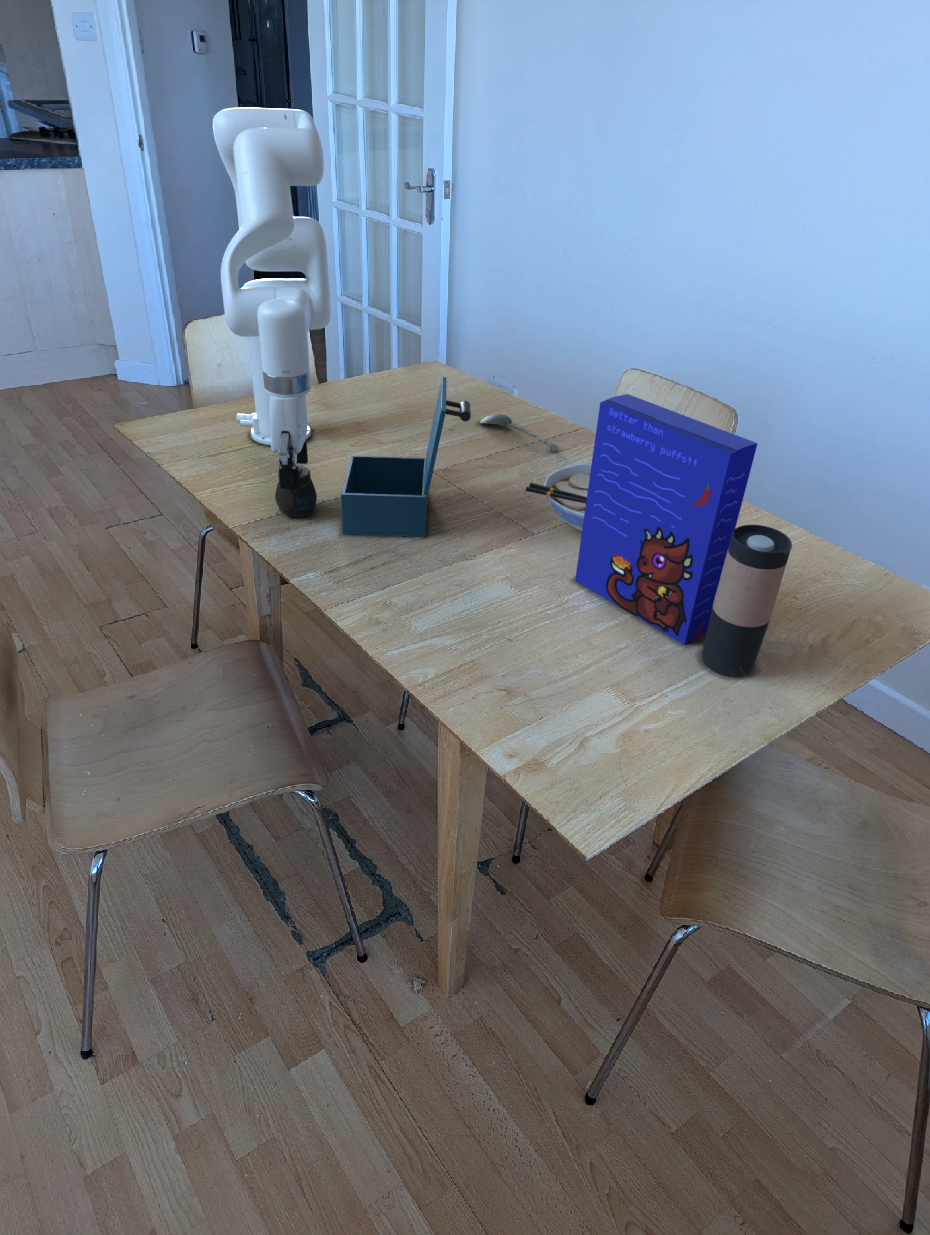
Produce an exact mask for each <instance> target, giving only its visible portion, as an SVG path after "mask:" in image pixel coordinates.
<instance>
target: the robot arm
mask: <svg viewBox="0 0 930 1235" xmlns="http://www.w3.org/2000/svg"><path fill="white" fill-rule="evenodd" d="M212 129H213V130H212V131H213V137H214V142H215V145H216V148H217V151H218V154H219V156H220V159H221V161H222V163H223V166H224V168H225V170H226V172H227V174H228V176H229V179H230V181H231V184H232V187H233V190H234V195H235V202H236V203H235V204H236V212H237V221H238V230H237V232H236V233H235V234H234V236H233V237H232V238H231V240H230V241H229V243H228V244H227V247H226V249H225V251H224V254H223V256H222V261H221V264H220V265H221V266H220V285H221V293H222V303H223V312H224V318H225V322H226V324H227V326H228V329H229V330H230V331H231V332H232V333H233V334H234V335H236V336H238V337H244V338H246V337H247V344H248V350H249V351H248V352H249V360H250V369H251V380H252V387H253V389H252V390H253V396H254V397H253V398H254V406H255V407H254V408H255V412H251V414H246V413H237V414H236V423H237V424H239V426H240V427H250V428H251V429H250V437H251V439H252V440H253V441H255V442H256V443H259V444H262V445H266V446H270V449H271V452H273V454H276V453H278V472H279V475H278V477H279V476H280V487H281V488H282V489H299V487H300V483H299V470H298V467H296V465H307V464H308V463H309V456H308V454H309V453H308V443H307V440H308V439H309V438H310V436H311V434H312V433H311V432H312V428H311V427H310V426H309V425H308V410H307V400H306V399H307V398H306V395H307V394H309V393H310V392H311V390H312V387H311V386H312V385H311V370H310V354H309V337H308V336H309V335H308V332H309V330H310V331H312V330H314V331H315V330H322V329H325V328H326V327H328V325H329V324H330V321H331V316H332V306H331V305H332V304H331V303H332V302H331V288H330V276H329V275H330V274H329V264H328V263H329V261H328V248H327V242H326V236H325V232H324V229H323V226H322V225H321V223H320V222H319V221H318V220H317V219H315V218H313V217H308V216H295V215H294V208H293V202H292V201H293V200H292V194H291V187H314V186H317V185H319V184H320V183H321V182H322V181H323V179H324V178H323V177H324V172H325V157H324V151H323V145H322V141H321V140H322V139H321V138H320V135H319V131H318V129H317V126H316V122H315V120H314V118H313V117H312V115H311V114H310V113H309V112H307V111H306V110H302V109H293V108H267V107H248V106H247V107H242V106H241V107H230V108H224V109H222V110H220V111H218V112H217V113H216V114H214V116H213V119H212ZM244 264H245V265H246V266H247V267H248V268H249V269H251V270H253V271H257V272H301V273H302V274H304V275H305V278H260V279H254V280H250V281H248V282H245V283H244V285H242V287H240V286H239V272H240V270H241V268H242V267H243V265H244Z"/></svg>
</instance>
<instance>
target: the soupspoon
mask: <svg viewBox="0 0 930 1235" xmlns="http://www.w3.org/2000/svg"><path fill="white" fill-rule="evenodd" d="M479 424H489V425H490V424H491V425H498V426H499V425H500V426H506V427H509V428H511V429H516V430H518V431H521V432H522V433H525V434H527V435H529V436H531V437H533V438H535V439H537V440H539V441H540V442H543V444H545V445H546V446H547V447H548V448H550V451H551V452H553V453H554V452H556V450H557V449H558V448H559V446H558V444H554V443H552V442H550V441H548V440H547V439H544V438H543V437H541V436H539V435H538V434H536V433H533V432H532V431H529V430H527V429H525V428H523V427H521V426H518V425H515V424H513V420H512V418H511V417H510V416H508V415H507V414H502V413H494V414H489V415H488V416H485V417H484V418H482V419H481V420H480V421H479Z"/></svg>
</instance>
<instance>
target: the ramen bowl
mask: <svg viewBox="0 0 930 1235" xmlns="http://www.w3.org/2000/svg"><path fill="white" fill-rule="evenodd" d="M591 464H592V463H578V464H573V465H570V466H564V467H561V468H558V469H557V470H555V471H554V472H552V473H550V474H549V475H547V476H546V477H545V481H544V483H543V484H538V483H534V482H529V485H528V486H526V487H525V492H527V493H528V492H529V493H533V494H539V495H542V496H543V495H544V496H546V497H547V500H548V501H549V503H550V505H551V507H552V508H553V510H554V512H555V513H556V515H557V516H558V517H559V518H560V519H561V520H562V521H564V522H565V523H567V524H568V525H569V526H571V527H573V529H575V530H578V531H581V532H582V528H583V521H584V514H585V507H586V500H587V493H588V486H589V479H590V471H591Z"/></svg>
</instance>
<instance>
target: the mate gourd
mask: <svg viewBox="0 0 930 1235" xmlns="http://www.w3.org/2000/svg"><path fill="white" fill-rule="evenodd" d="M296 467H298V470H299V483H300V487H299V489H282V488H281V487H280V476H279V471H277V475H278V482H277V485H276V489H275V493H274V499H275V503H276V505H277V507H278V510H279V511H280V512H281V513H282V514H284V515H286V516H289V517H290V518H302V517H305V516H308V515H309V514H311V513H312V512H313V511H314V510H315V508H316V504H317V500H318V498H317V497H318V493H317V490H316V488H315V485H314V482H313V479H312V478H311V470H310V469H309V467H307V466H305V465H304V466H303V465H301V464H296Z"/></svg>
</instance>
